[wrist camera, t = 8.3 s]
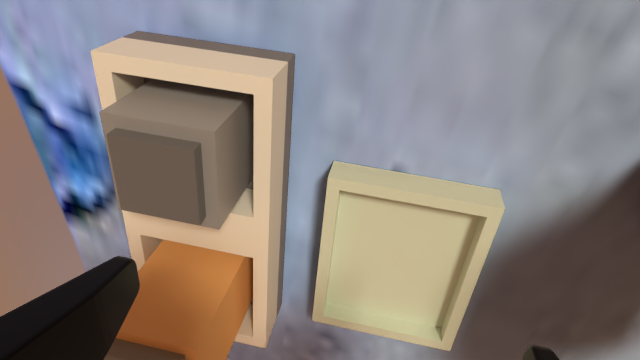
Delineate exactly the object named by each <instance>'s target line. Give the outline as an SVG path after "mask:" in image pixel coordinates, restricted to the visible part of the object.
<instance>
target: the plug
mask: <svg viewBox="0 0 640 360" xmlns="http://www.w3.org/2000/svg"><path fill="white" fill-rule="evenodd" d="M138 276H139V281H140V288H139V292H138V295H137V297H136V299H135V301H134V303H133V305H132V307H131V309H130V310H129V312H128V314H127V316H126V318H125V320H124V322H123V324H122V326H121V328H120V330H119V332H118V334H117V336H116V338H115V340H114V342H113V344H112V346H111V348H110V350H109V352H108V353H107V355H106V357H105V358H104V360H226V358H227V356H228V354H229V351H230V349H231V347H232V344H233V342H234V340H235V338H236V335H237V333H238V331H239V329H240V326H241V324H242V322H243V320H244V317H245V315H246V313H247V310H248V308H249V306H250V304H251V301H252V299H253V258H251V257H246V256H241V255H236V254H231V253H226V252H222V251H217V250H212V249H207V248H202V247H197V246H193V245H188V244H183V243H178V242H173V241H169V240H164V239H163V241H162V242H161V243H160V245H159V246H158V247H157V248H156V250H155V251H154V252H153V253H152V255H151V256H150V257H149V258H148V260H147V261H146V262H145V264H144V265H143V266H142V267H141V269H140V270H139V271H138Z"/></svg>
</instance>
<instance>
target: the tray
mask: <svg viewBox="0 0 640 360" xmlns="http://www.w3.org/2000/svg"><path fill="white" fill-rule="evenodd" d="M504 210H505V207H504V204H503V200H502V196H501V192H500V190H499V189H493V188H487V187H481V186H476V185H470V184H464V183H458V182H453V181H447V180H441V179H436V178H430V177H424V176H418V175H413V174H407V173H401V172H395V171H390V170H384V169H378V168H373V167H367V166H361V165H355V164H350V163H344V162H338V161H334V162H333V164H332V167H331V170H330V173H329V175H328V181H327V190H326V199H325V208H324V217H323V226H322V235H321V244H320V253H319V262H318V270H317V279H316V288H315V297H314V306H313V315H312V321H316V322H320V323H325V324H329V325H334V326H338V327H343V328H347V329H352V330H356V331H361V332H365V333H370V334H374V335H379V336H383V337H388V338H392V339H397V340H401V341H406V342H410V343H415V344H419V345H424V346H428V347H433V348H437V349H442V350H446V351H450V350H451V347H452V345H453V342H454V339H455V337H456V334H457V332H458V329H459V326H460V324H461V321H462V319H463V316H464V314H465V311H466V308H467V306H468V303H469V301H470V298H471V295H472V293H473V290H474V288H475V285H476V283H477V280H478V277H479V275H480V272H481V270H482V267H483V264H484V262H485V259H486V257H487V254H488V252H489V249H490V246H491V244H492V241H493V239H494V236H495V233H496V231H497V228H498V226H499V223H500V221H501V218H502V215H503V213H504Z"/></svg>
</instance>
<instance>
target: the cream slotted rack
mask: <svg viewBox="0 0 640 360" xmlns="http://www.w3.org/2000/svg"><path fill="white" fill-rule="evenodd" d="M91 55H92V60H93V65H94V70H95V75H96V80H97V85H98V91H99V96H100V101H101V106H102V111H100V117H101V122H102V127H103V132H104V137H105V142H106V146H107V151H108V156H109V161H110V166H111V171H112V176H113V181H114V186H115V191H116V196H117V201H118V206H119V210H122V212H123V217H124V222H125V227H126V232H127V237H128V242H129V247H130V252H131V257H132V259H133V260H134V261H135V262H136V265H137V271H139V270H140V269H141V267H142V266H143V265H144V264H145V262H146V261H147V260H148V258H149V257H150V256H151V255H152V253H153V252H154V251H155V250H156V248H157V247H158V246H159V245H160V243H161V242H162V241H163V239H164V240H169V241H173V242H178V243H183V244H188V245H193V246H197V247H202V248H207V249H212V250H217V251H222V252H226V253H231V254H236V255H241V256H246V257H251V258H253V299H252V301H251V304H250V306H249V308H248V310H247V313H246V315H245V317H244V320H243V322H242V324H241V326H240V329H239V331H238V333H237V335H236V338H235V340H234V341H236V342H240V343H244V344H249V345H253V346H257V347H261V348H266V346H267V343H268V340H269V338H270V335H271V332H272V329H273V326H274V324H275V321H276V318H277V315H278V313H279V310H280V307H281V304H282V289H283V270H284V251H285V233H286V214H287V196H288V177H289V159H290V140H291V122H292V103H293V85H294V66H295V54H292V53H285V52H278V51H272V50H265V49H258V48H251V47H244V46H237V45H230V44H223V43H217V42H210V41H203V40H196V39H189V38H182V37H175V36H168V35H162V34H155V33H148V32H141V31H136V32H134V33H132V34H129V35H127V36H124V37H122V38H120V39H117V40H115V41H113V42H110V43H108V44H105V45H103V46H101V47H98V48H96V49H94V50H91Z"/></svg>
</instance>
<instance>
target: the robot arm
mask: <svg viewBox="0 0 640 360" xmlns="http://www.w3.org/2000/svg"><path fill="white" fill-rule="evenodd" d="M139 288H140V281H139V276H138V271H137V265H136V262H135V261H134V260H133V259H130V258H126V257H121V256H117V257H114V258H112V259H110V260H108V261H106V262H104V263H103V264H101V265H99V266H97V267H95V268H93V269H91V270H89V271H87V272H85V273H83V274H82V275H80V276H78V277H76V278H74V279H72V280H70V281H68V282H66V283H64V284H62V285H60V286H58V287H56V288H55V289H53V290H51V291H49V292H47V293H45V294H43V295H41V296H39V297H37V298H35V299H33V300H31V301H30V302H28V303H26V304H24V305H22V306H20V307H18V308H16V309H14V310H12V311H10V312H8V313H7V314H5V315H3V316H1V317H0V360H104V358H105V357H106V355H107V353H108V352H109V350H110V348H111V346H112V344H113V342H114V340H115V338H116V336H117V334H118V332H119V330H120V328H121V326H122V324H123V322H124V320H125V318H126V316H127V314H128V312H129V310H130V309H131V307H132V305H133V303H134V301H135V299H136V297H137V295H138V292H139ZM521 360H559V358H558V357H557V356H556V355H555V353H554V352H553V351H552V350H550V349H548V348H545V347H540V346H535V345H530V346H529V347H528V348H527V349H526V351H525V353H524V355H523V357H522V358H521Z"/></svg>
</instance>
